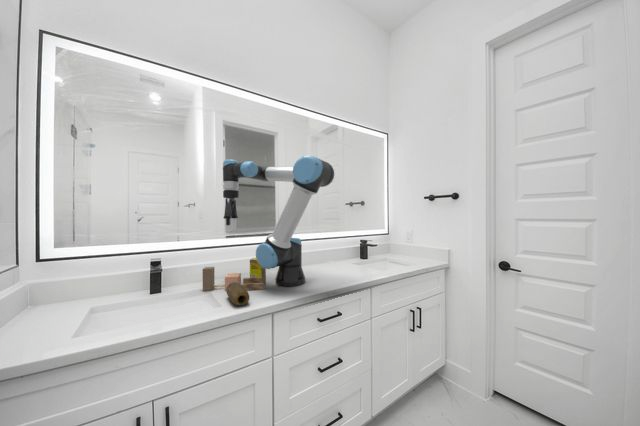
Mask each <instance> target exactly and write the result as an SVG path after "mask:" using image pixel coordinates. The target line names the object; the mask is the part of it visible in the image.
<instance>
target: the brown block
mask: <svg viewBox="0 0 640 426" xmlns="http://www.w3.org/2000/svg"><path fill="white" fill-rule="evenodd" d="M232 282H237V283H239V284H242V275H241V272H240V273H239V272H236V273H234V272H233V273H227V274H226V276H225V277H224V284H215V266H204V267H203V268H202V292H205V291H206V292H207V291H214V289H215V288H220V287H221V288H223V287H224V291H226V289H227V286H228V285H229V284H230V283H232Z"/></svg>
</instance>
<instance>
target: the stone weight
mask: <svg viewBox="0 0 640 426" xmlns="http://www.w3.org/2000/svg"><path fill="white" fill-rule="evenodd" d="M241 284H242V283H241ZM241 284H239V283H237V282H232V283H230V284H229V285H228V286H227V289H226V290H225V291H226V295H227V296H228V298H229V300H230V301H231V302H232V303H233V304H234V305H236V306H244V305H246V304H248V303H249V301H250V294H249V292H248V291H247V290H246V289H245V288H244V287H243V286H242V285H241Z"/></svg>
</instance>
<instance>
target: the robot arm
mask: <svg viewBox="0 0 640 426" xmlns="http://www.w3.org/2000/svg"><path fill="white" fill-rule="evenodd" d="M242 178H243V179H245V178H247V179H251V180H252V179H253V180H258V181H262V182H270V181H271V182H286V183H287V182H288V183H289V182H290V183H291V182H292V185H293V188H292V190H291V192H290V195H289V197H288V199H287V201H286V204H285V205H284V208H283V210H282V212H281V214H280V216H279V219H278V221H277V223H276V225H275V227H274V230H273V231H272V233H269V234H268V235H267V236H266V239H265V241H264V242H263V243H260V244H259V245H258V246H257V247H256V250H255V258H257V261H258V263H259V264H260V266H262V267H263V268H265V269H266V270H271V269H275V268H277V267H278V269H277V273H276V277H275V284H276V285H277V286H280V287H295V286H296V287H297V286H301V285H304V284H305V283H306V277H305V276H306V275H305V273H304V270H303V268H302V267H303V266H302V259H303V257H302V247H303V245H302V239H301V238H298V237H293V236H294V233H295V231H296V229H297V227H298V225H299V223H300V221H301V219H302V217H303V214H304V212H305V211H306V208H307V206H308V204H309V202H310V200H311V198H312V196H313V195H316V194H317V193H318V192H319V190H320V188H324V187H328V186H329V185H330V184H331V183H333V181H334V179H335V169H334V168H333V166H332V165H331V164H330V163H329V162H327V161H325V160H323V159H320V158H318V157H316V156H312V155H304V156H301V157H299V158H298V159H297V160H296V161H295V163H294V164H293V166H262V165H258V164H257V163H255V162H254V161H248V160H247V161H242V162H239V161H238V160H236V159H225V160H223V162H222V182H223V183H222V184H221V186H222V187H223V188H222V189H223V190H222V192H223V193H222V194H223V195H222V196H223V198H224V199H225V205H224V214H223V215H224V216H223V219H225V220H224V221H225V224H224V225H225V227H224V228H225V230H224V231H225V233H231V232H232V231H237V219H238V218H239V216H238V213H237V212H238V211H237V201H236V200H235V199H238V198H239V187H240V186H239V183H240V182H239V179H242Z"/></svg>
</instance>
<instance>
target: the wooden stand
mask: <svg viewBox="0 0 640 426" xmlns="http://www.w3.org/2000/svg"><path fill="white" fill-rule="evenodd" d="M266 271H267V269H265V268H263V267H262V277H257V278H250V277H244V278H242V283H241V285H242V286H243V287H244V288H245V289H246V290H247V292H248V291H249V292H250V291H265V288H266V284H267V272H266Z"/></svg>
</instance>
